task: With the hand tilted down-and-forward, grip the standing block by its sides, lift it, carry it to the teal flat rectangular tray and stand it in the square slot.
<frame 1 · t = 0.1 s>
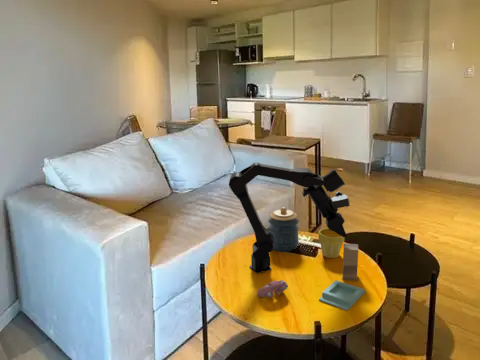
hand: (342, 231, 155), 15 cm above the table, tool tilted 35°, fingers open, 9 cm apart
plant pot: (330, 255, 170), on the table
block: (349, 276, 152), on the table
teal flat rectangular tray: (342, 296, 140), on the table
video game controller: (272, 296, 141), on the table
canister: (283, 246, 180), on the table
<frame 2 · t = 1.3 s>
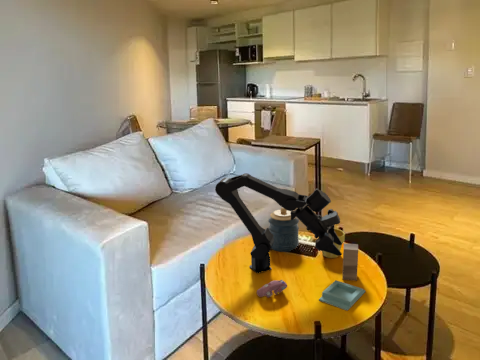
hand: (341, 249, 150), 10 cm above the table, tool tilted 45°, fingers open, 9 cm apart
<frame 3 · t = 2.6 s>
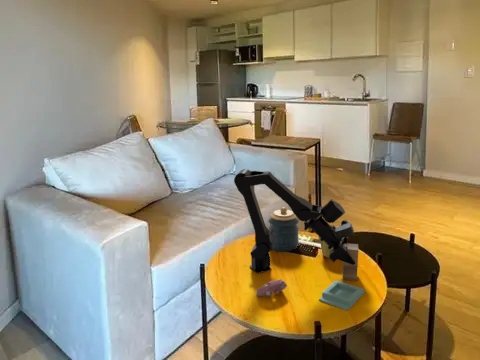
hand: (354, 260, 150), 7 cm above the table, tool tilted 45°, fingers closed on block, 5 cm apart
block: (349, 276, 152), on the table, touching gripper
everything else where it was.
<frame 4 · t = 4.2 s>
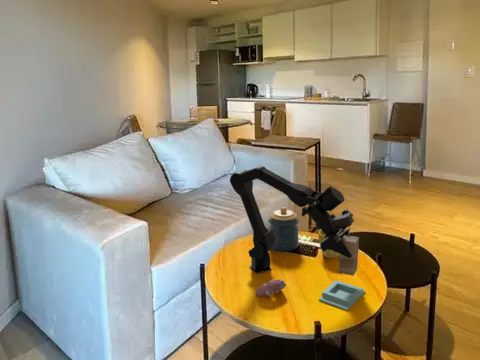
hand: (352, 254, 140), 13 cm above the table, tool tilted 45°, fingers closed on block, 5 cm apart
block: (347, 271, 142), point 7 cm above the table, touching gripper
when the fingers open (8 cm above the table, at t = 5.8 s): block drops 1 cm, resting on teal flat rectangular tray.
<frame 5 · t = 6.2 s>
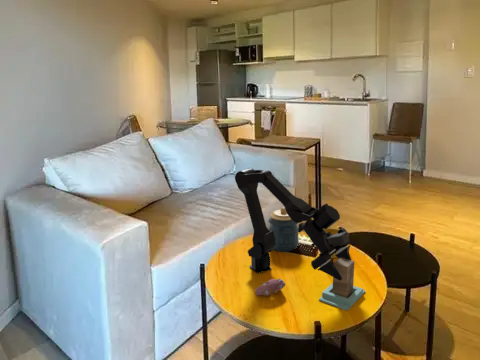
hand: (347, 274, 137), 9 cm above the table, tool tilted 45°, fingers open, 9 cm apart
block: (342, 294, 140), point 1 cm above the table, touching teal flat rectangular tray
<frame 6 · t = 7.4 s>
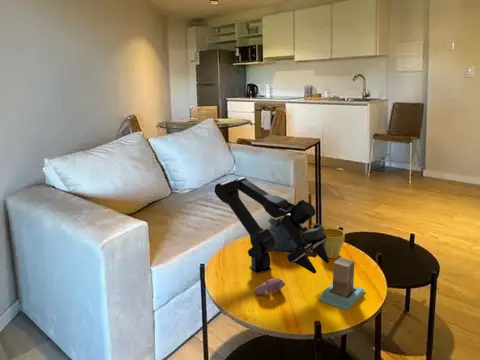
hand: (322, 267, 142), 8 cm above the table, tool tilted 45°, fingers open, 9 cm apart
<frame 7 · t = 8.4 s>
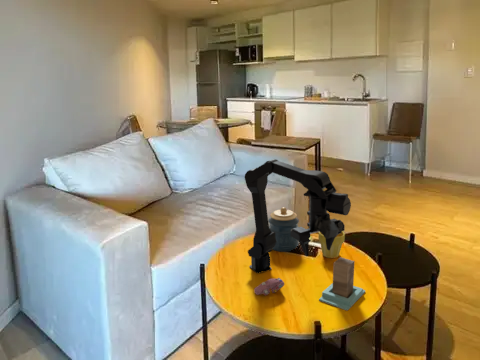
hand: (317, 252, 142), 13 cm above the table, tool pointing down, fingers open, 9 cm apart
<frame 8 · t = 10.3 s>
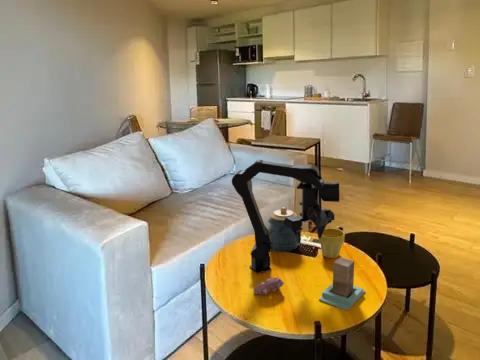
hand: (309, 240, 153), 13 cm above the table, tool pointing down, fingers open, 9 cm apart
at the end: block 0.1 cm off-centre on the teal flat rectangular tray, point 0.6 cm above the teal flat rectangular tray's base; block tilted 0°; the gripper is holding nothing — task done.
